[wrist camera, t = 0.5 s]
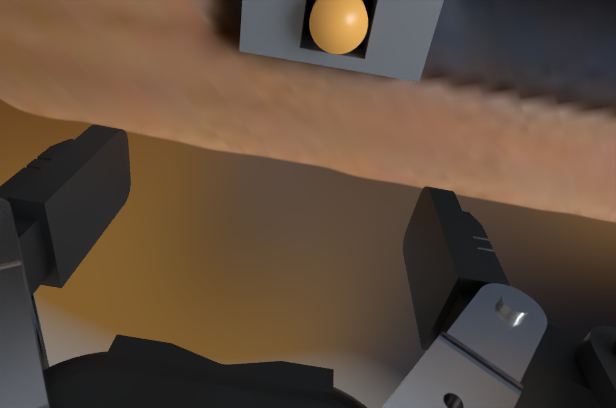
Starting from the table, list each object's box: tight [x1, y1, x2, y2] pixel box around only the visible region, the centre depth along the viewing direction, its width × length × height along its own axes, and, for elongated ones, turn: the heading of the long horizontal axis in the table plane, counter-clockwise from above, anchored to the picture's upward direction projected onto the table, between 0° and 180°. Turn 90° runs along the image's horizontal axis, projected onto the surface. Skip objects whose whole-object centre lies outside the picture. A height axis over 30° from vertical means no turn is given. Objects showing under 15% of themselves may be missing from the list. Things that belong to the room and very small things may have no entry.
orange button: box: [309, 0, 368, 54], centre depth 31 cm, size 4×4×4 cm
